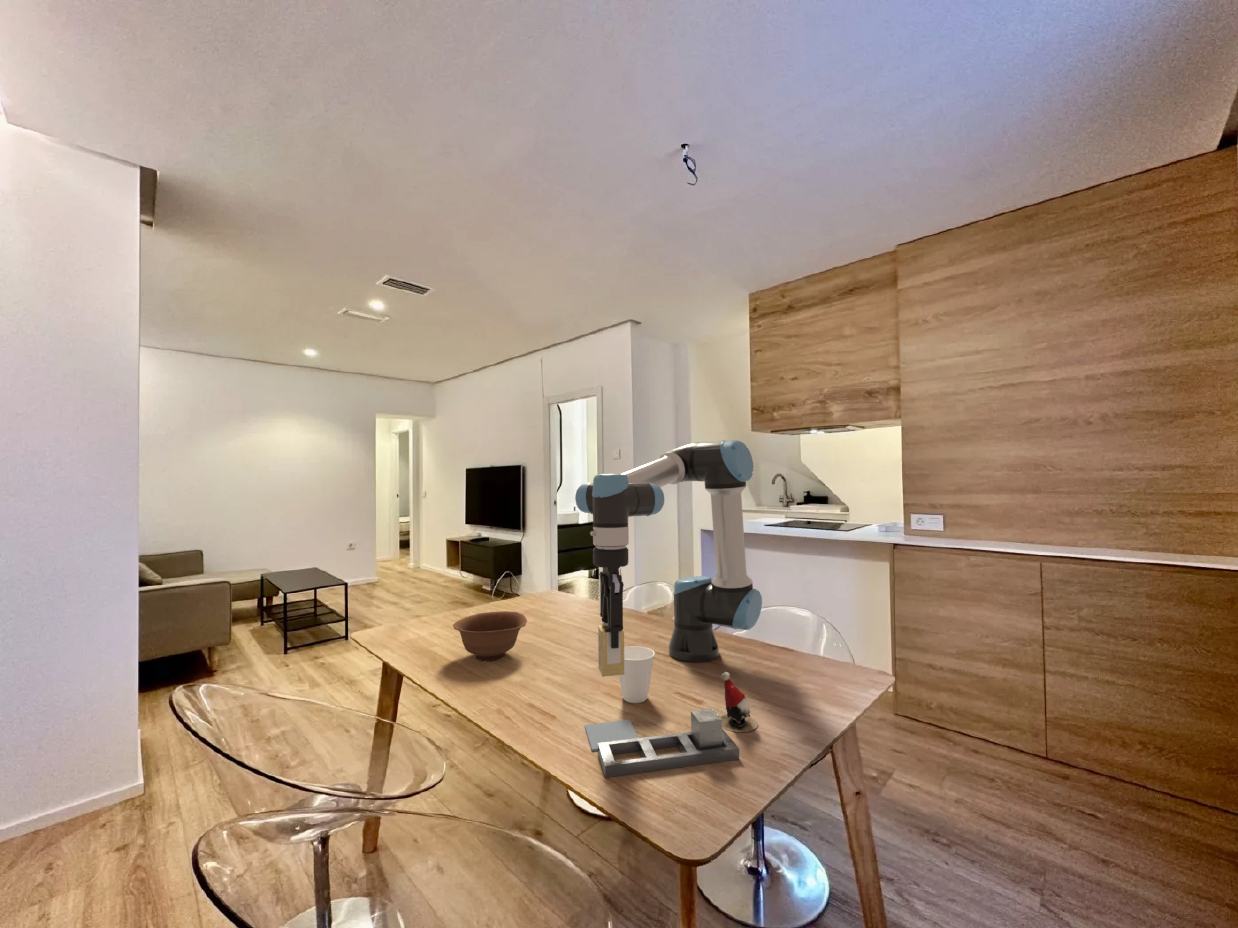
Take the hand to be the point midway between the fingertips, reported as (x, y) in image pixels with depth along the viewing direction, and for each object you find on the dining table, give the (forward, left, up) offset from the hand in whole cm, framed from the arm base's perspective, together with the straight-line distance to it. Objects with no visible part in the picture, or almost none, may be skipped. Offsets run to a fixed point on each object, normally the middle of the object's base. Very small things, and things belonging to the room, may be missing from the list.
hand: (611, 658), depth 103 cm
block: (-17, +10, -16) cm, 25 cm away
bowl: (+27, -54, -16) cm, 63 cm away
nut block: (0, 0, -3) cm, 3 cm away
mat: (0, 0, -16) cm, 16 cm away
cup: (-9, -16, -16) cm, 25 cm away
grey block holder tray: (-9, +10, -16) cm, 21 cm away
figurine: (-28, +1, -16) cm, 32 cm away
